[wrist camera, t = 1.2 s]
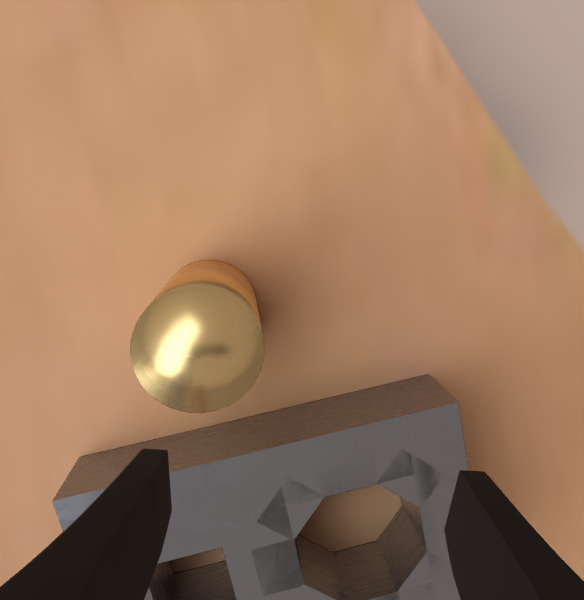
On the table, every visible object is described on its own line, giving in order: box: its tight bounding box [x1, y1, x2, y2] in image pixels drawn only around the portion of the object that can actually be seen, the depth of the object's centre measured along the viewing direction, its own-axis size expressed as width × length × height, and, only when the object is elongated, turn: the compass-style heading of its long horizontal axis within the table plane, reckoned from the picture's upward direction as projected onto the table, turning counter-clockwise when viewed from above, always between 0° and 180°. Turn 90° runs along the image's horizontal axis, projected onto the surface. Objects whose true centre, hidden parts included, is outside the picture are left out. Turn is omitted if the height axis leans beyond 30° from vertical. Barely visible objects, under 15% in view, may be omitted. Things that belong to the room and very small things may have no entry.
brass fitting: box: [130, 260, 264, 413], centre depth 19 cm, size 4×4×7 cm
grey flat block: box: [52, 374, 468, 600], centre depth 24 cm, size 18×12×4 cm, turn 102°
